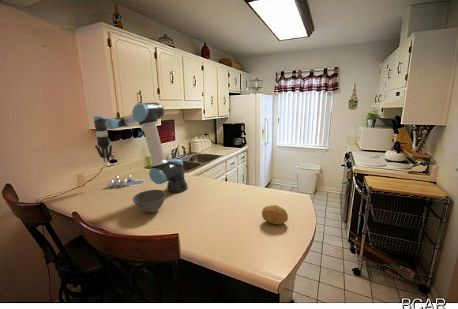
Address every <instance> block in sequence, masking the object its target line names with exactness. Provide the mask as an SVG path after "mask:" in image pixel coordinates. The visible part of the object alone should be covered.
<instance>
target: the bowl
mask: <svg viewBox="0 0 458 309" xmlns="http://www.w3.org/2000/svg"><path fill="white" fill-rule="evenodd" d="M166 195H167V193H166V191H165V190H162V189H149V190H143V191H141V192H139V193H137V194H135V195H134V196H133V197H132V202H133V203H134V205H135V206H136V207H137V208H138V209H139V210H140V211H142V212H143V213H146V214H152V213H155V212H157V211H159V210H160V209H161V208H162V206H163V204H164V202H165V198H166Z"/></svg>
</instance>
